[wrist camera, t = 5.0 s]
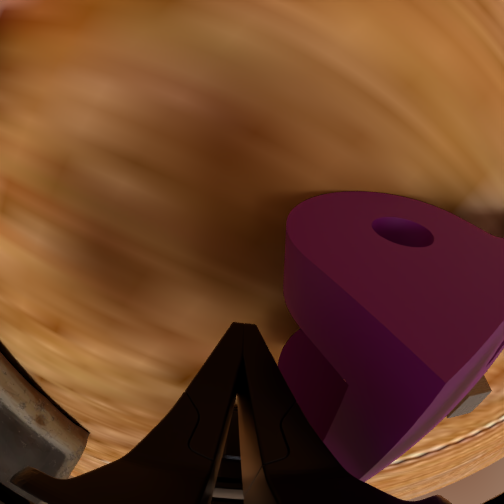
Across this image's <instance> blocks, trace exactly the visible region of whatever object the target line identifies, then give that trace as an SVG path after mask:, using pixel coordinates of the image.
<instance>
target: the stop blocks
mask: <svg viewBox="0 0 504 504" xmlns="http://www.w3.org/2000/svg"><path fill="white" fill-rule="evenodd" d="M491 391H492V390H491V388H490V386H489V384H488V382H487V380H486V378H485V376H484V375H483V376H482V377H481V379H480V380H479V381H478V382H477V383H476V384H475V386H474V387H473V388H472V389H471V390H470V391H469V392H468V394H467V395H466V396H465V397H464V398H463V399H462V400H461V401H460V402H459V403H458V404H457V405H456V406H455V407H454V409H453V410H452V411H451V412H450V413H449V414H448V415H447V418H451V417H455V416H459V415H463V414H466V413H470V412H471V411H473V410H474V409H475V408H476V407H477V406H478V405H479V404H480V403H481V402H482V401H483V400H484V399H485V398H486V396H487V395H488V394H489V393H490V392H491Z"/></svg>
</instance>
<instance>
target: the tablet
mask: <svg viewBox="0 0 504 504" xmlns="http://www.w3.org/2000/svg"><path fill="white" fill-rule="evenodd" d="M89 434H90V433H87V432H86V431H85V430H83V429H82V428H81V427H79V426H77V425H75V424H74V423H73V422H71V421H70V420H69V419H68V418H67V417H66V416H65V415H63V414H62V413H61V412H60V411H59V410H58V409H57V408H56V407H55V406H54V405H53V404H52V403H51V402H50V401H49V400H48V399H47V398H46V397H44V396H43V395H42V394H41V393H40V392H38V391H37V390H36V389H35V388H34V387H33V386H32V385H30V384H29V383H28V382H27V381H26V380H25V379H24V378H23V377H22V375H21V374H20V373H19V372H18V371H17V370H16V369H15V368H14V367H13V366H12V365H11V364H10V363H9V361H8V360H7V359H6V358H5V357H4V356H3V355H2V353H1V352H0V482H1V483H3V484H4V485H6V486H7V487H9V488H10V489H12V490H13V491H15V492H17V493H18V494H20V495H21V496H23V497H25V498H26V499H28V500H30V501H32V502H33V503H35V504H47V503H45V502H43V501H41V500H39V499H37V498H36V497H34V496H32V495H30V494H28V493H27V492H25V491H23V490H22V489H20V488H18V487H17V486H15V485H14V484H12V483H11V482H10V479H11V478H12V476H13V475H15V474H16V473H17V472H19V471H20V470H22V469H24V468H26V467H27V466H30V467H33V468H35V469H37V470H39V471H41V472H43V473H45V474H47V475H49V476H51V477H54V478H58V479H68V477H69V476H70V474H71V472H72V470H73V469H74V467H75V466H76V464H77V463H78V461H79V459H80V457H81V455H82V453H83V451H84V449H85V447H86V443H87V439H88V436H89Z"/></svg>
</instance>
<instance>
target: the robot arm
mask: <svg viewBox="0 0 504 504" xmlns="http://www.w3.org/2000/svg"><path fill="white" fill-rule="evenodd" d="M236 395H237V403H238V409H236V408H234V404H235V400H236ZM10 482H11V483H12V484H14V485H15V486H17V487H18V488H20V489H22V490H23V491H25V492H27V493H28V494H30V495H32V496H34V497H36V498H37V499H39V500H41V501H43V502H45V503H47V504H452V503H450V502H449V501H448V500H447V499H445V498H443V497H442V496H440V495H435V496H432V497H429V498H426V499H423V500H420V501H405V500H401V499H398V498H396V497H394V496H392V495H389V494H387V493H385V492H383V491H381V490H379V489H377V488H375V487H373V486H371V485H369V484H367V483H365V482H363V481H361V480H359V479H358V478H356V477H354V476H353V475H351V474H350V473H349V472H348V471H346V470H345V469H344V468H343V466H342V465H341V464H340V463H339V462H338V460H337V459H336V458H335V457H334V455H333V454H332V453H331V452H330V450H329V449H328V448H327V446H326V445H325V444H324V443H323V441H322V440H321V439H320V437H319V436H318V435H317V433H316V432H315V430H314V429H313V428H312V426H311V425H310V423H309V422H308V420H307V418H306V417H305V415H304V413H303V412H302V410H301V408H300V406H299V404H298V403H297V402H296V399H295V397H294V395H293V394H292V392H291V390H290V388H289V386H288V384H287V383H286V381H285V379H284V377H283V375H282V373H281V371H280V369H279V368H278V366H277V364H276V362H275V360H274V358H273V356H272V354H271V353H270V351H269V349H268V347H267V345H266V343H265V341H264V339H263V337H262V335H261V333H260V332H259V330H258V328H257V326H256V325H255V324H247V323H245V324H244V323H237V322H233V323H232V324H231V325H230V327H229V328H228V330H227V331H226V333H225V334H224V336H223V337H222V339H221V340H220V342H219V343H218V344H217V346H216V347H215V349H214V350H213V352H212V353H211V355H210V356H209V357H208V359H207V360H206V362H205V363H204V365H203V366H202V367H201V369H200V370H199V372H198V373H197V375H196V376H195V377H194V379H193V380H192V382H191V383H190V385H189V386H188V387H187V389H186V390H185V392H184V393H183V394H182V396H181V397H180V398H179V400H178V401H177V402H176V404H175V405H174V406H173V408H172V409H171V410H170V411H169V413H168V414H167V415H166V416H165V417H164V418H163V419H162V420H161V421H160V422H159V424H158V425H157V426H156V427H155V428H154V429H153V430H152V431H151V432H150V433H149V434H148V435H147V436H146V437H145V438H144V439H143V440H142V441H141V442H139V443H138V444H137V445H136V446H135V447H134V448H133V449H132V450H131V451H130V452H129V453H127V454H126V455H125V456H123V457H122V458H120V459H118V460H116V461H114V462H111V463H109V464H107V465H104V466H102V467H100V468H97V469H95V470H92V471H90V472H87V473H85V474H82V475H80V476H77V477H74V478H70V479H58V478H54V477H51V476H49V475H47V474H45V473H43V472H41V471H39V470H37V469H35V468H33V467H30V466H27V467H26V468H24V469H22V470H20V471H19V472H17V473H16V474H15V475H13V476H12V478H11V479H10ZM0 504H35V503H33V502H32V501H30V500H28V499H26V498H25V497H23V496H21V495H20V494H18V493H17V492H15V491H13V490H12V489H10V488H9V487H7V486H6V485H4V484H3V483H1V482H0ZM482 504H504V492H503V493H501V494H499V495H497V496H496V497H494V498H492V499H490V500H488V501H486V502H484V503H482Z"/></svg>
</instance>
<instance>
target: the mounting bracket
mask: <svg viewBox="0 0 504 504" xmlns="http://www.w3.org/2000/svg"><path fill="white" fill-rule="evenodd" d="M283 294H284V298H285V302H286V305H287V308H288V310H289V312H290V314H291V315H292V317H293V319H294V320H295V321H296V323H297V324H298V326H299V327H300V329H299V330H298V331H296V332H295V333H294V334H293V335H292V336H291V337H290V339H289V340H288V341H287V342H286V344H285V346H284V347H283V349H282V352H281V354H280V357H279V362H278V368H279V369H280V371H281V373H282V375H283V377H284V379H285V381H286V383H287V384H288V386H289V388H290V390H291V392H292V394H293V395H294V397H295V399H296V402H297V403H298V404H299V406H300V408H301V410H302V412H303V413H304V415H305V417H306V418H307V420H308V422H309V423H310V425H311V426H312V428H313V429H314V430H315V432H316V433H317V435H318V436H319V437H320V439H321V440H322V441H323V443H324V444H325V445H326V446H327V448H328V449H329V450H330V452H331V453H332V454H333V455H334V457H335V458H336V459H337V460H338V462H339V463H340V464H341V465H342V466H343V468H344V469H345V470H346V471H348V472H349V473H350V474H351V475H353V476H354V477H356V478H358V479H359V480H361V481H363V482H365V481H367V480H368V479H370V478H371V477H373V476H374V475H375V474H377V473H378V472H380V471H381V470H383V469H384V468H385V467H387V466H388V465H389V464H391V463H392V462H393V461H395V460H396V459H397V458H399V457H400V456H401V455H402V454H404V453H405V452H406V451H407V450H409V449H410V448H411V447H412V446H414V445H415V444H416V443H417V442H418V441H419V440H421V439H422V438H423V437H424V436H425V435H426V434H427V433H429V432H430V431H431V430H432V429H433V428H434V427H435V426H436V425H437V424H438V423H439V422H440V421H441V420H442V419H443V418H445V417H446V416H447V415H448V414H449V413H450V412H451V411H452V410H453V409H454V407H455V406H456V405H457V404H458V403H459V402H460V401H461V400H462V399H463V398H464V397H465V396H466V395H467V394H468V392H469V391H470V390H471V389H472V388H473V387H474V386H475V384H476V383H477V382H478V381H479V380H480V379H481V377H482V376H483V375H484V374H485V372H486V371H487V370H488V369H489V367H490V366H491V365H492V364H493V362H494V361H495V360H496V358H497V357H498V355H499V354H500V353H501V351H502V350H503V348H504V238H500V237H496V236H493V235H491V234H489V233H487V232H485V231H483V230H482V229H480V228H478V227H476V226H474V225H473V224H471V223H469V222H467V221H465V220H463V219H461V218H460V217H458V216H456V215H454V214H452V213H450V212H448V211H445V210H443V209H441V208H438V207H436V206H433V205H430V204H427V203H424V202H421V201H418V200H414V199H410V198H406V197H402V196H397V195H391V194H385V193H377V192H363V191H349V192H335V193H328V194H323V195H319V196H316V197H313V198H310V199H307V200H305V201H303V202H301V203H300V204H298V205H297V206H296V207H295V208H293V209H292V211H291V212H290V213H289V215H288V218H287V222H286V242H285V263H284V281H283ZM344 380H345V381H346V382H345V381H344Z"/></svg>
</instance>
